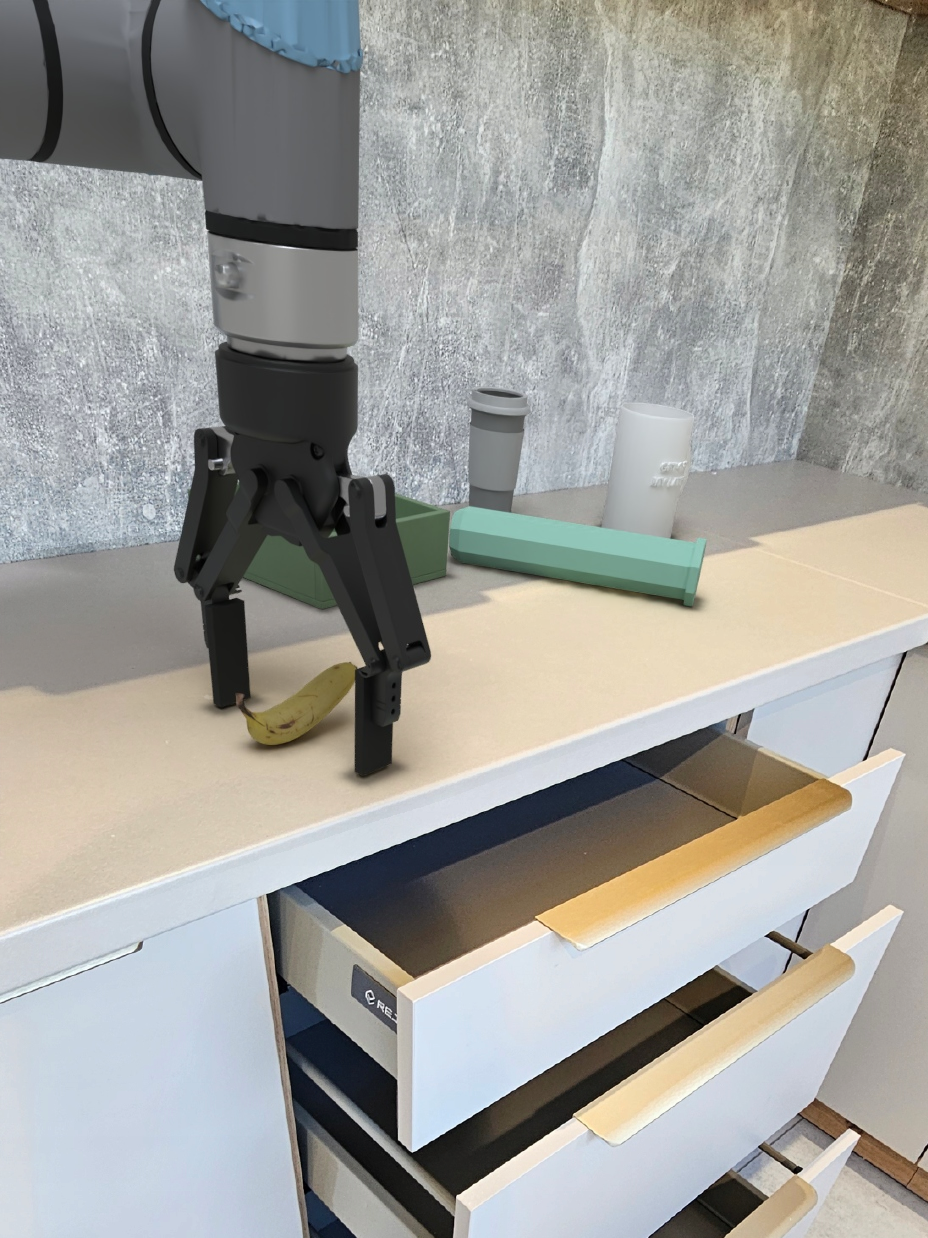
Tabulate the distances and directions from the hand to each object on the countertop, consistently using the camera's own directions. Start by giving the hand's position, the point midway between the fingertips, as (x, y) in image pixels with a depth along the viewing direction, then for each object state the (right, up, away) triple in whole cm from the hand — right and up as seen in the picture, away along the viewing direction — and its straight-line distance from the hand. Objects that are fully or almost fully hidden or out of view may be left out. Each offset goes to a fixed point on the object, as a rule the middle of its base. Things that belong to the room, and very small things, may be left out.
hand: (300, 733), depth 68 cm
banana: (0, 0, 0) cm, 0 cm away
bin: (-3, +25, +27) cm, 37 cm away
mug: (+30, +40, +48) cm, 69 cm away
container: (+20, +26, +32) cm, 46 cm away
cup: (+12, +40, +45) cm, 61 cm away
